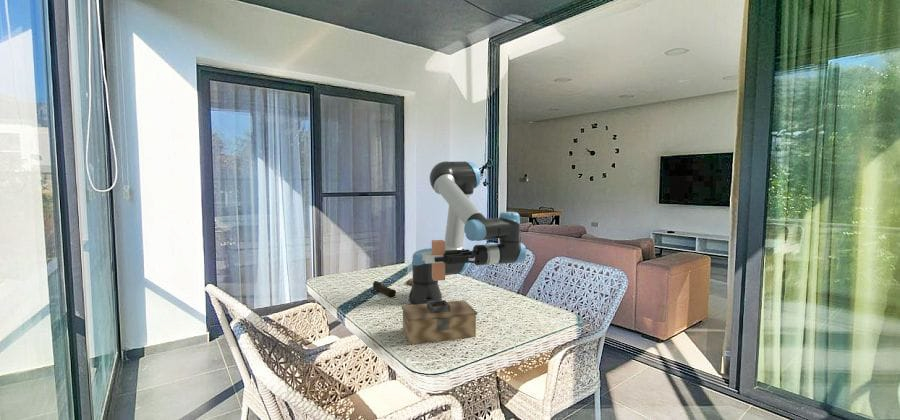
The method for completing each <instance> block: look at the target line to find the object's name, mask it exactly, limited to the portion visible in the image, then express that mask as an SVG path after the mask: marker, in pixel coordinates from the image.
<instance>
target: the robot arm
mask: <svg viewBox="0 0 900 420" xmlns="http://www.w3.org/2000/svg"><path fill="white" fill-rule="evenodd" d="M429 174H430V175H429V183H430V186H431V188H432V189H433V190H434V192H435V193H436V194H438V195H440V196H441V197H442V198H443V199H444V201H445V202H446V203H447V204H448V211H447V219H446V227H445V236H444V241H445V253H444V257H443V255H432V247H431V248H423V249H418V250H417V251H415V252H414V253H413V254H412V259H411V260H412V261H411V265H412V266H411V267H412V269H411V270H412V278H413V285H412V286H411V288H410V291H409V295H408V302H409V303H410V304H411V305H417V304H427V302H430V301H441V300H443V297H442V296H443V294H442V292H441V289H440V284H439V281H434V280H433V279H432V263H443V262H444V263H445V276H451V275H458V274H462V273H464V272H465V271H466V270H467V268H468V267H469V264H475V266H485V265H488V266H489V265H490V266H494V265H502V264H503V265H504V264H505V265H506V264H516V263H517V264H518V263H522V262H524V261H525V260H526V258H527V250H526V245H525V244H524V243H522V242H520V229H521V228H520V227H521V218H520V217H521V216H520V214H519V213H518V212H515V211H502V212H501V211H500V213H499V217H497V218H496V217H495V218H486V216H485V215H483V213H482V212H481V211H480V210H479V209H478V208H477V206H476V204H474V203H473V202H472V201H471V200H470V196H472V195H473V194H474V190H475V189H476V188H479V186H480V183H481V177H482V176H481V171H480V169H479V167H478V166H477V164H476V163H474V162H472V161H466V160H465V161H445V160H444V161H441V162H438V163H436V164H435V165H434V166H433V168H431V171H430V173H429ZM464 237H466V238H467V240H469V241H471V242H472V241H473V242H474V241H477V242H478V241H479V242H481V241H488V240H495V239H499V243H491V244H490V243H489V244H488V243H487V244H486V243H485V244H475V245H474V246H473V248H472V250H470V249H467V248H466V247H465V246H464Z"/></svg>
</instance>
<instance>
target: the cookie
mask: <svg viewBox="0 0 900 420" xmlns="http://www.w3.org/2000/svg"><path fill="white" fill-rule="evenodd" d="M406 284H407V285H408V286H409V287H412V285H413V277H411V278H409V279H407V280H406Z"/></svg>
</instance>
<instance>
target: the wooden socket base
mask: <svg viewBox="0 0 900 420" xmlns="http://www.w3.org/2000/svg"><path fill="white" fill-rule="evenodd" d="M401 310H402V330H403V332H404V335H405V337H406V340H407V342H408V344H409V345H416V344H426V343H433V342H441V341H443V342H444V341H450V340H459V339H469V338H475V337H477V336H476V334H477V333H476V332H477V331H476V329H477V328H476V326H477V319H476V318H477V315H478V312H477V311H476V310H475V309H474V308H473V306H472V305H470V304H469V303H468V302H467V300H465V299H464V300H462V299H461V300H452V301H446V299H445V300H444V299H442V300H441V301H430V302H427V304H417V305H415V304H409V305H401Z"/></svg>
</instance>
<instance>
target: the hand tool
mask: <svg viewBox="0 0 900 420" xmlns="http://www.w3.org/2000/svg"><path fill="white" fill-rule="evenodd" d="M372 286H373V287H372V288H373V289H374V291H375V290H376V291H375V292H380V293H382V294H384V295H385V296H388V298H389V299H391V298H395V297H396V294H397V290H396V289H392V288H391V287H387V286H385V285H383V284H382V282H380V281H377V280H375V281H373V283H372Z"/></svg>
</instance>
